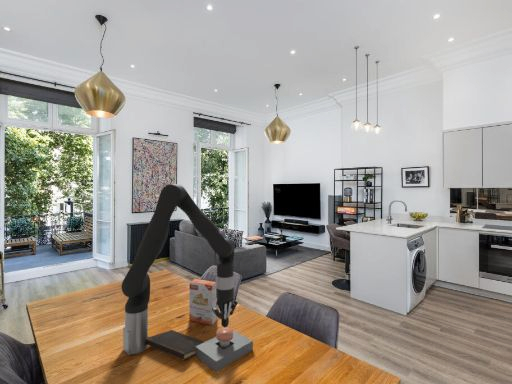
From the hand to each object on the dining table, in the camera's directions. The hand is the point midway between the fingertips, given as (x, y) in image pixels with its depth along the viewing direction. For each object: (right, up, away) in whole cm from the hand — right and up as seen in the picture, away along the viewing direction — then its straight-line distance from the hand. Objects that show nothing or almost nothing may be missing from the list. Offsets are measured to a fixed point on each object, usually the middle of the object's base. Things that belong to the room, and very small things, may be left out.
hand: (225, 326), depth 116 cm
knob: (0, -9, 0) cm, 9 cm away
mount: (0, -11, 0) cm, 11 cm away
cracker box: (-15, -11, +28) cm, 34 cm away
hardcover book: (-22, -11, +4) cm, 25 cm away
